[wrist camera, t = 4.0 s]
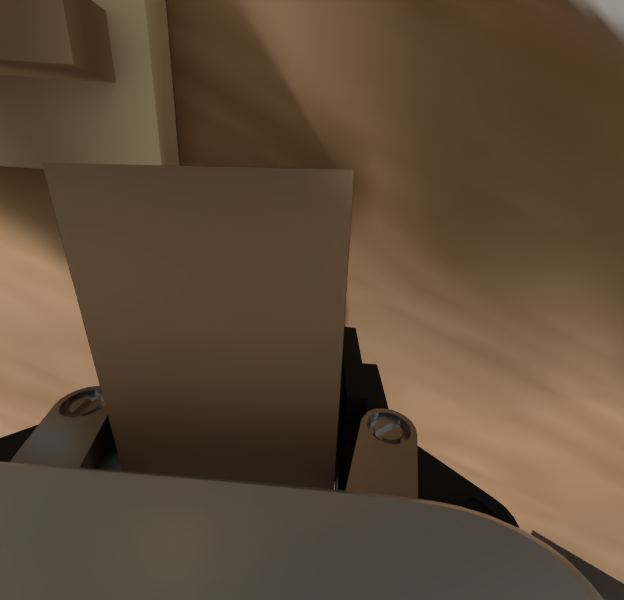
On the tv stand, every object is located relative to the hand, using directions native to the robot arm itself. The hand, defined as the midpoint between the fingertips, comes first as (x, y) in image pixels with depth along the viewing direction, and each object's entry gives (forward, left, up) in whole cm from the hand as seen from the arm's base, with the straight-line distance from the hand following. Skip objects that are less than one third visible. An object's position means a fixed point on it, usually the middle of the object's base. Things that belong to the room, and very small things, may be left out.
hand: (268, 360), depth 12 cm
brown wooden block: (0, 0, -1) cm, 1 cm away
